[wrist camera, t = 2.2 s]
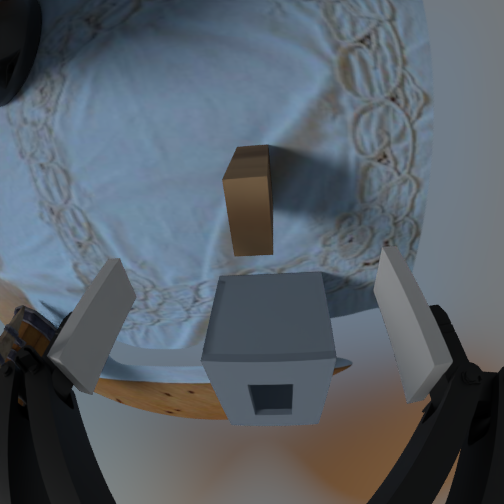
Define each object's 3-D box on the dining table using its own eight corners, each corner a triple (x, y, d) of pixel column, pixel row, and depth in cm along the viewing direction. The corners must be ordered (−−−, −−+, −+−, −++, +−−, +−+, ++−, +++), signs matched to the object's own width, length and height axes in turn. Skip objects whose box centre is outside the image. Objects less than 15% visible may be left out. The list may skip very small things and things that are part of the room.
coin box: (219, 276, 31) (200, 361, 22) (321, 271, 30) (336, 358, 21) (238, 357, 40) (231, 424, 31) (313, 355, 39) (318, 423, 30)
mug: (4, 277, 35) (-51, 358, 19) (62, 311, 38) (10, 409, 22) (22, 333, 46) (-13, 400, 29) (71, 361, 48) (40, 436, 32)
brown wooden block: (237, 146, 23) (222, 179, 16) (268, 144, 22) (266, 176, 16) (244, 204, 26) (234, 256, 19) (272, 203, 25) (273, 254, 19)
